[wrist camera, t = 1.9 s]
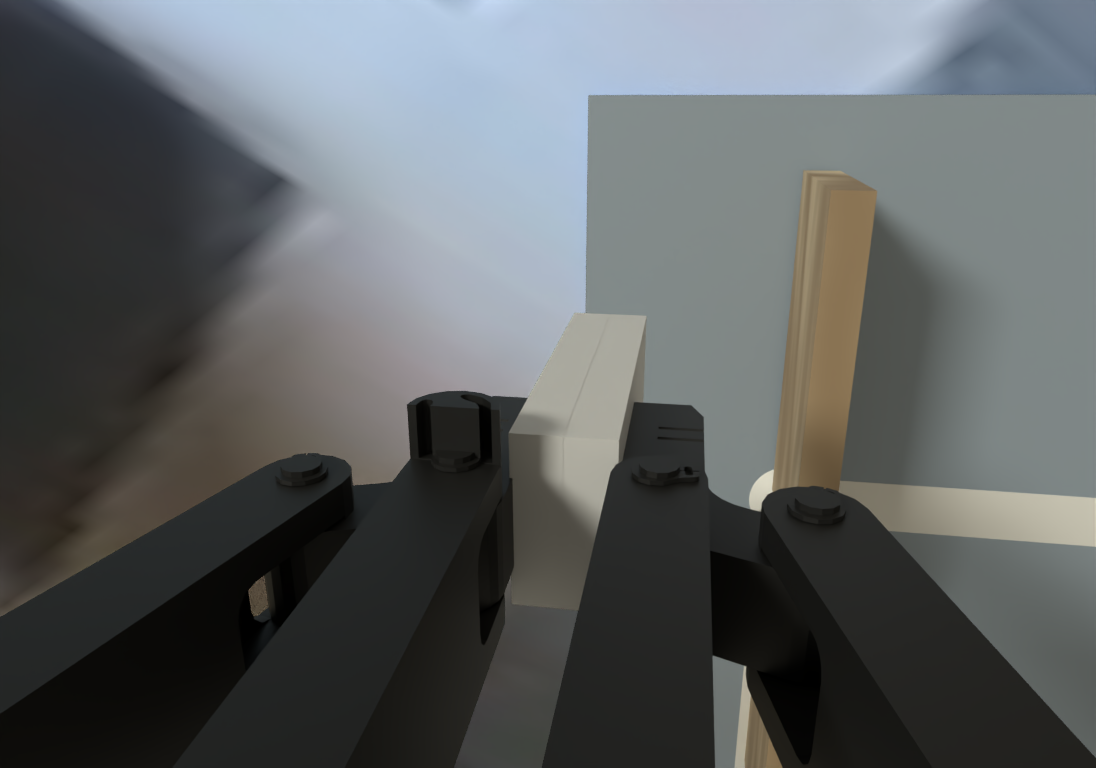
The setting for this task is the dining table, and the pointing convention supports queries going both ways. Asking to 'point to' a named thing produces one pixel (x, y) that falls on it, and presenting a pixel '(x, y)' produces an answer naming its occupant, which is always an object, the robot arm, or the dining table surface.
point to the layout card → (885, 334)
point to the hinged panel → (823, 328)
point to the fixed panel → (759, 743)
